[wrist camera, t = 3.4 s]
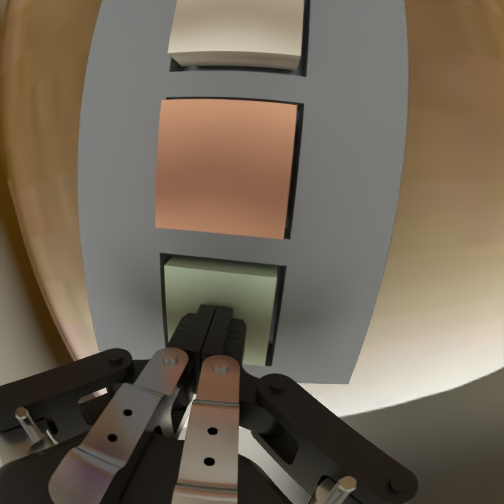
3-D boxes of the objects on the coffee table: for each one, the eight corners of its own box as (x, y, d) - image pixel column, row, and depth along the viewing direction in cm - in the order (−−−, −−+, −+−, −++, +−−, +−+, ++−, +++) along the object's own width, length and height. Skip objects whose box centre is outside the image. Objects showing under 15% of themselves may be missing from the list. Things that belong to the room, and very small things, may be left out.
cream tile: (196, -17, 9) (186, -37, 7) (301, -15, 9) (305, -37, 7) (182, 66, 11) (167, 53, 9) (296, 70, 11) (300, 56, 9)
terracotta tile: (177, 107, 11) (161, 99, 10) (292, 113, 11) (297, 105, 9) (171, 216, 13) (155, 227, 11) (281, 226, 13) (283, 239, 11)
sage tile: (177, 251, 15) (164, 265, 13) (276, 261, 14) (277, 277, 13) (179, 332, 16) (169, 353, 14) (265, 343, 16) (264, 366, 14)
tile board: (131, -4, 11) (110, -24, 8) (383, 6, 11) (401, -16, 8) (118, 326, 18) (99, 350, 15) (339, 353, 18) (348, 383, 15)
